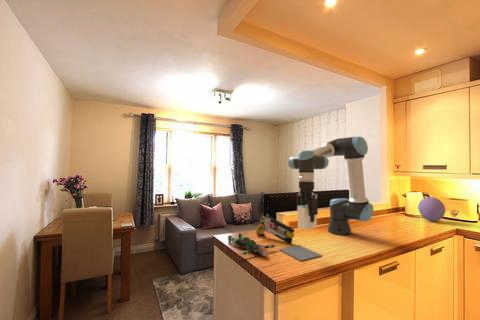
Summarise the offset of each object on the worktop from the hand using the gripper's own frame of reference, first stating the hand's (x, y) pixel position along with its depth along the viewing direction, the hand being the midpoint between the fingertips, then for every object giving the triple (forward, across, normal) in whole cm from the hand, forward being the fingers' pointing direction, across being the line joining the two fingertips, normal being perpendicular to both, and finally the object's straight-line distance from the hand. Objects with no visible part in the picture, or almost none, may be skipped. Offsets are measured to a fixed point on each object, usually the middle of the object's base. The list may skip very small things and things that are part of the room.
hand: (306, 226), depth 115 cm
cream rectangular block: (0, 0, 0) cm, 0 cm away
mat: (+15, -6, 0) cm, 16 cm away
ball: (+15, -10, +145) cm, 146 cm away
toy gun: (+15, -31, +2) cm, 35 cm away
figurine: (+15, -23, -21) cm, 35 cm away
